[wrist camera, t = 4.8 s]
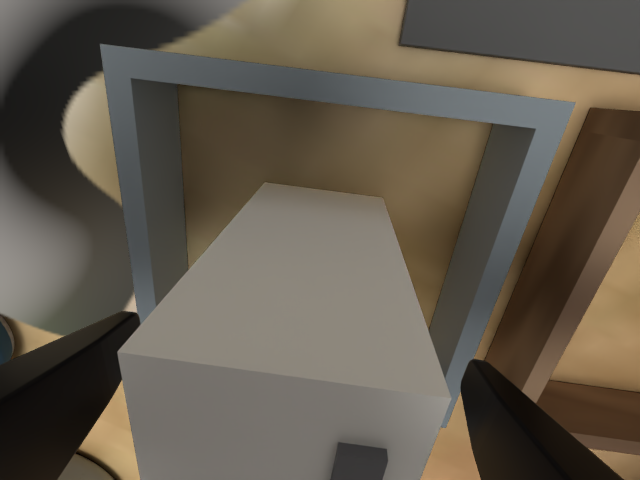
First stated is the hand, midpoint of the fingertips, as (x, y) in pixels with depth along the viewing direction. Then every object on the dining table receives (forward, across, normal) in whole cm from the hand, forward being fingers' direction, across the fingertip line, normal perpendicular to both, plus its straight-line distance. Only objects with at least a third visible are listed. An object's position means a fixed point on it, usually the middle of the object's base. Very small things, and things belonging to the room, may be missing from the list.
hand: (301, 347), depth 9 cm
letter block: (+7, 0, 0) cm, 7 cm away
